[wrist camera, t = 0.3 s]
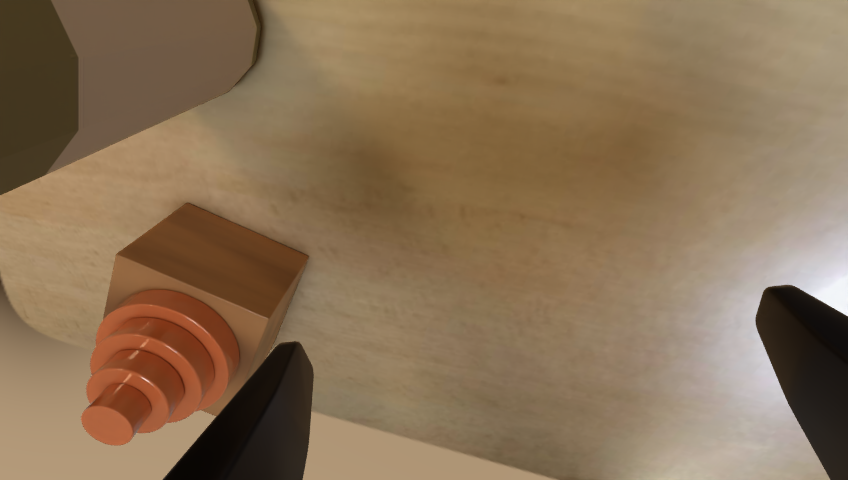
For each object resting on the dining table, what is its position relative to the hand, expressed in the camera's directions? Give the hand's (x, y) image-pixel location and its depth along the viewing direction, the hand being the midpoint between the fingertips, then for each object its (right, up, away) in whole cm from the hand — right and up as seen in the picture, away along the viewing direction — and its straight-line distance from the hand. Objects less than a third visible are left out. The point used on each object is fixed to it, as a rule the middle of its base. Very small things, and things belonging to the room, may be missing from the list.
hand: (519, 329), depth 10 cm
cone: (-13, -3, +14) cm, 19 cm away
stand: (-13, 0, +19) cm, 23 cm away
